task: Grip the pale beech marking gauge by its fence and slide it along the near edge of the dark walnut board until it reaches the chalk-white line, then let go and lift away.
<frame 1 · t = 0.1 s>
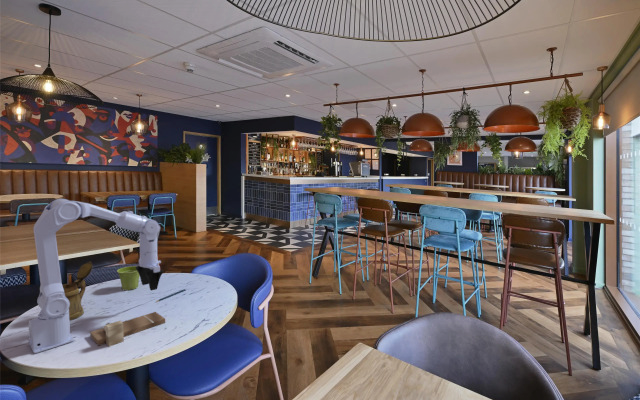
hand: (149, 286, 118), 10 cm above the table, tool pointing down, fingers open, 7 cm apart
pencil: (170, 297, 135), on the table
plant pot: (130, 288, 143), on the table
walnut board: (129, 329, 106), on the table
marking gauge: (115, 342, 98), on the table
wooden mug: (74, 314, 117), on the table
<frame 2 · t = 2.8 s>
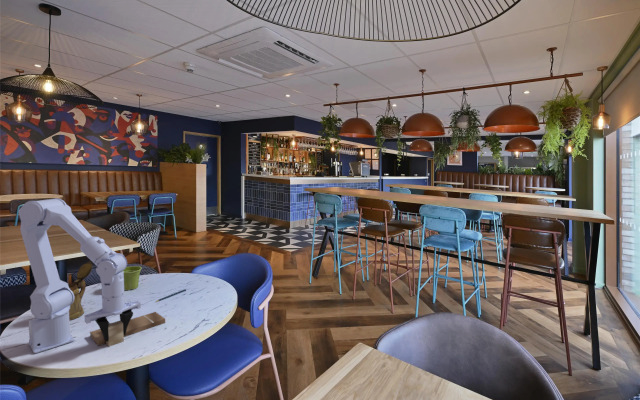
hand: (114, 337, 98), 2 cm above the table, tool pointing down, fingers closed on marking gauge, 4 cm apart
marking gauge: (115, 342, 98), on the table, touching gripper
everything else where it was.
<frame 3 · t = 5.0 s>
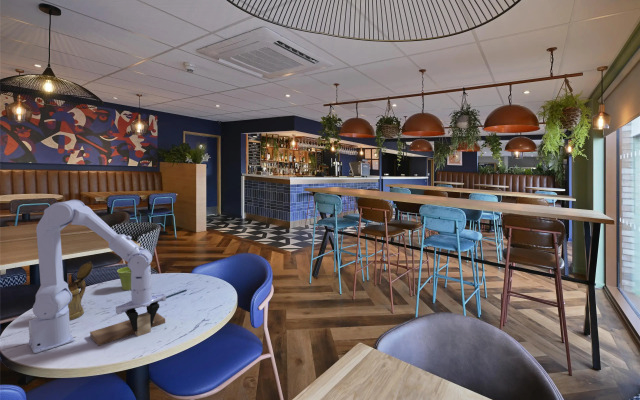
hand: (142, 327, 104), 2 cm above the table, tool pointing down, fingers closed on marking gauge, 4 cm apart
marking gauge: (142, 332, 104), on the table, touching gripper
everything else where it was.
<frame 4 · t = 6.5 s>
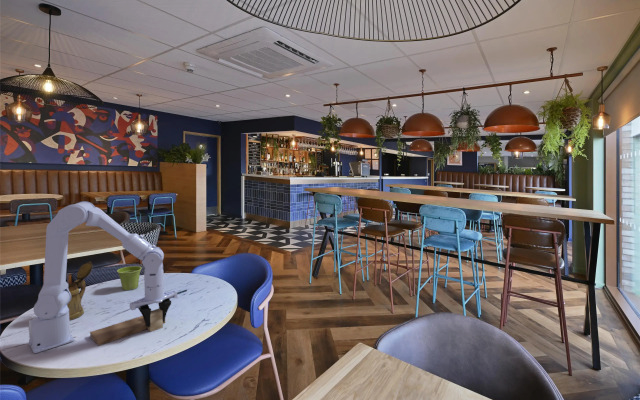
hand: (155, 323, 107), 2 cm above the table, tool pointing down, fingers closed on marking gauge, 4 cm apart
marking gauge: (155, 328, 107), on the table, touching gripper
everything else where it was.
when the fingers open (2 cm above the table, at t = 7.3 s): marking gauge stays where it is, on the table.
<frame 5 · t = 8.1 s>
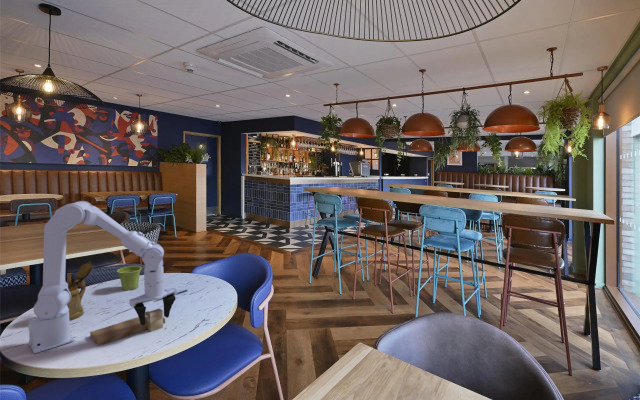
hand: (154, 320, 107), 3 cm above the table, tool pointing down, fingers open, 7 cm apart
marking gauge: (155, 328, 107), on the table
everything else where it was.
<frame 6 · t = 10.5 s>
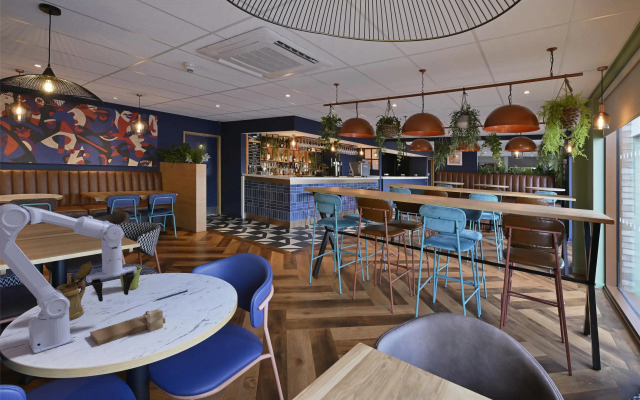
hand: (113, 297, 109), 9 cm above the table, tool pointing down, fingers open, 7 cm apart
nothing on the table moved.
at the end: marking gauge 0.4 cm from the target spot, on the table; marking gauge tilted 0°; the gripper is holding nothing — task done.
